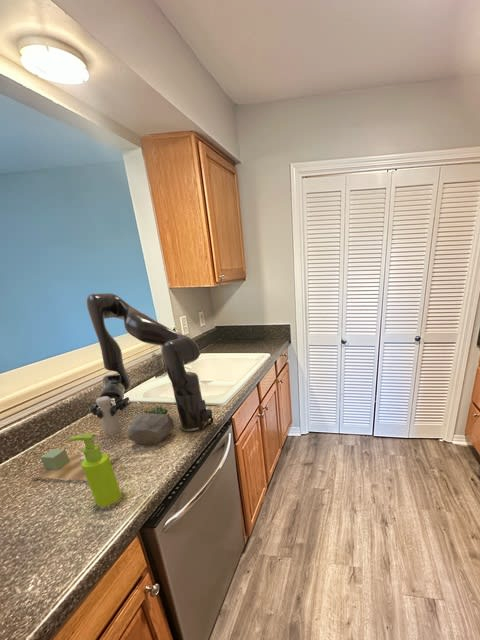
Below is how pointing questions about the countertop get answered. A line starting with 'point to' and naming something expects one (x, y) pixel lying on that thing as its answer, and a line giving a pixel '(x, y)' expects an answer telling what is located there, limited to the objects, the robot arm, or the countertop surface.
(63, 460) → the sage green cube
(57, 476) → the wood board
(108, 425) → the salt shaker
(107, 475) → the soap dispenser
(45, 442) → the countertop surface
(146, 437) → the potted plant
